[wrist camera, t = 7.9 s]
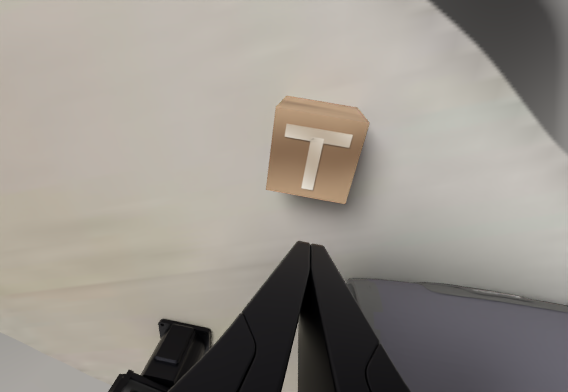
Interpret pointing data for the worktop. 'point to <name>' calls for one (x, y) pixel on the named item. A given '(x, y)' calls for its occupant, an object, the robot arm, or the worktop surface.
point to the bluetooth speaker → (467, 336)
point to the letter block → (315, 148)
